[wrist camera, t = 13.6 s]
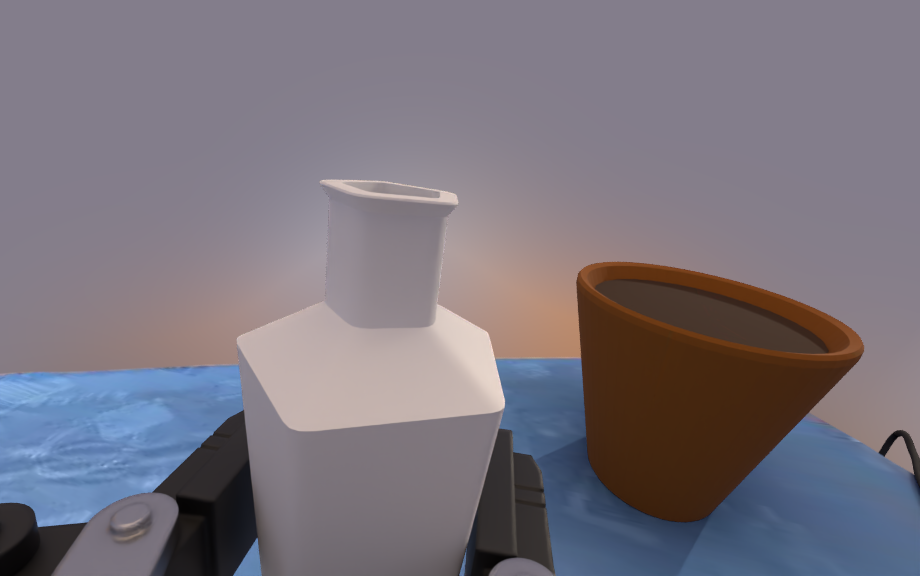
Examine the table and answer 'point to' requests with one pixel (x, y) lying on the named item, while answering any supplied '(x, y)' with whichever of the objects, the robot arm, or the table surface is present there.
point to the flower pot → (695, 380)
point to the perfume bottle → (371, 401)
